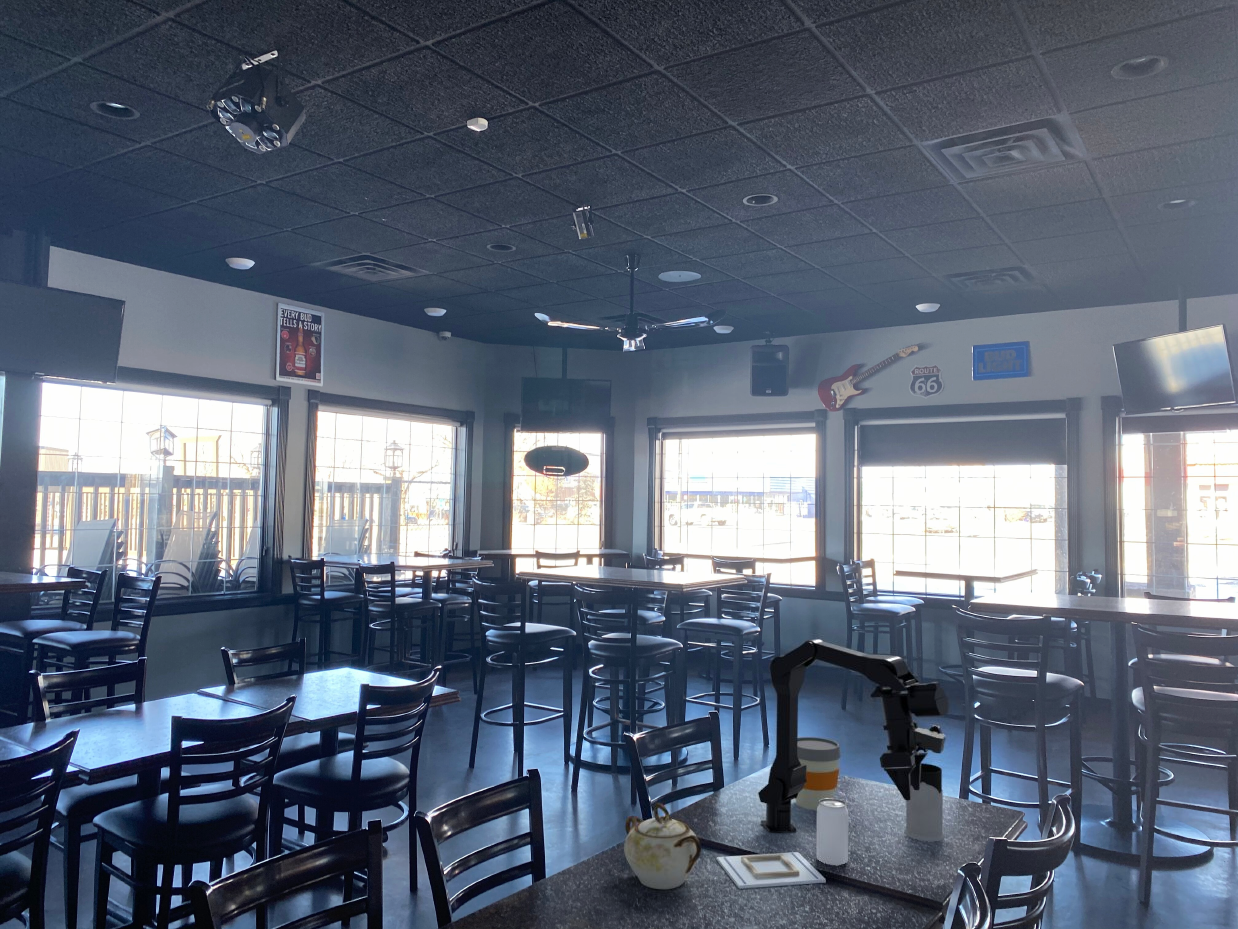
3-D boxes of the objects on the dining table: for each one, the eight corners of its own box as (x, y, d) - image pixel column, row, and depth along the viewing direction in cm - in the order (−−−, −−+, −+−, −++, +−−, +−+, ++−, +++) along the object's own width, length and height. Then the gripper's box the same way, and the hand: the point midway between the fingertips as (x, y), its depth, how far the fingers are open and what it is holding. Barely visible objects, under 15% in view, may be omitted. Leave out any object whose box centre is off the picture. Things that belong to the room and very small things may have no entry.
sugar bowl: (599, 876, 179) (600, 799, 179) (650, 856, 189) (651, 784, 190) (673, 909, 165) (674, 826, 166) (724, 885, 175) (725, 807, 176)
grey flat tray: (716, 860, 188) (716, 856, 188) (797, 855, 191) (797, 851, 191) (738, 888, 174) (739, 885, 174) (825, 882, 178) (825, 878, 178)
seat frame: (741, 860, 186) (741, 856, 186) (782, 858, 188) (782, 854, 188) (756, 878, 177) (756, 874, 177) (799, 875, 179) (799, 871, 179)
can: (848, 868, 185) (849, 809, 185) (816, 865, 186) (817, 806, 187) (847, 856, 191) (847, 799, 192) (816, 853, 192) (816, 796, 193)
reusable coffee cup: (834, 816, 216) (834, 752, 216) (782, 807, 221) (783, 746, 222) (844, 800, 227) (845, 740, 228) (795, 793, 233) (796, 734, 233)
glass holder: (902, 838, 202) (902, 770, 203) (907, 818, 215) (907, 754, 216) (943, 844, 199) (944, 775, 200) (946, 823, 212) (946, 759, 213)
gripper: (929, 722, 177) (944, 805, 174) (945, 708, 193) (960, 784, 191) (873, 726, 182) (887, 806, 180) (893, 712, 199) (907, 785, 196)
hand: (912, 795), depth 186 cm, fingers open, 9 cm apart
